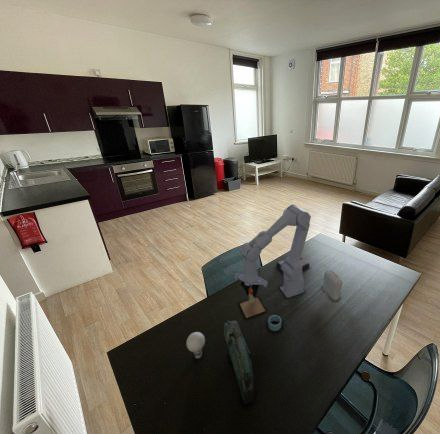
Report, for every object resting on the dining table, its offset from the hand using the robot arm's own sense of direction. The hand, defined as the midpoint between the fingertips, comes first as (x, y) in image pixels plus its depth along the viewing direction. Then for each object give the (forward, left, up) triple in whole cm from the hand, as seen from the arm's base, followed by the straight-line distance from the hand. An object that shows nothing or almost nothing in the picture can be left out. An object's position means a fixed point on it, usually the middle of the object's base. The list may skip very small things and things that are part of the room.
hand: (251, 294), depth 105 cm
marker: (0, 0, -4) cm, 4 cm away
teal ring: (-5, +13, -8) cm, 16 cm away
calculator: (-31, -17, -8) cm, 36 cm away
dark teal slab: (+14, +26, -8) cm, 31 cm away
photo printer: (-38, +8, -8) cm, 40 cm away
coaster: (0, 0, -8) cm, 8 cm away
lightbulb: (+26, +13, -8) cm, 30 cm away
